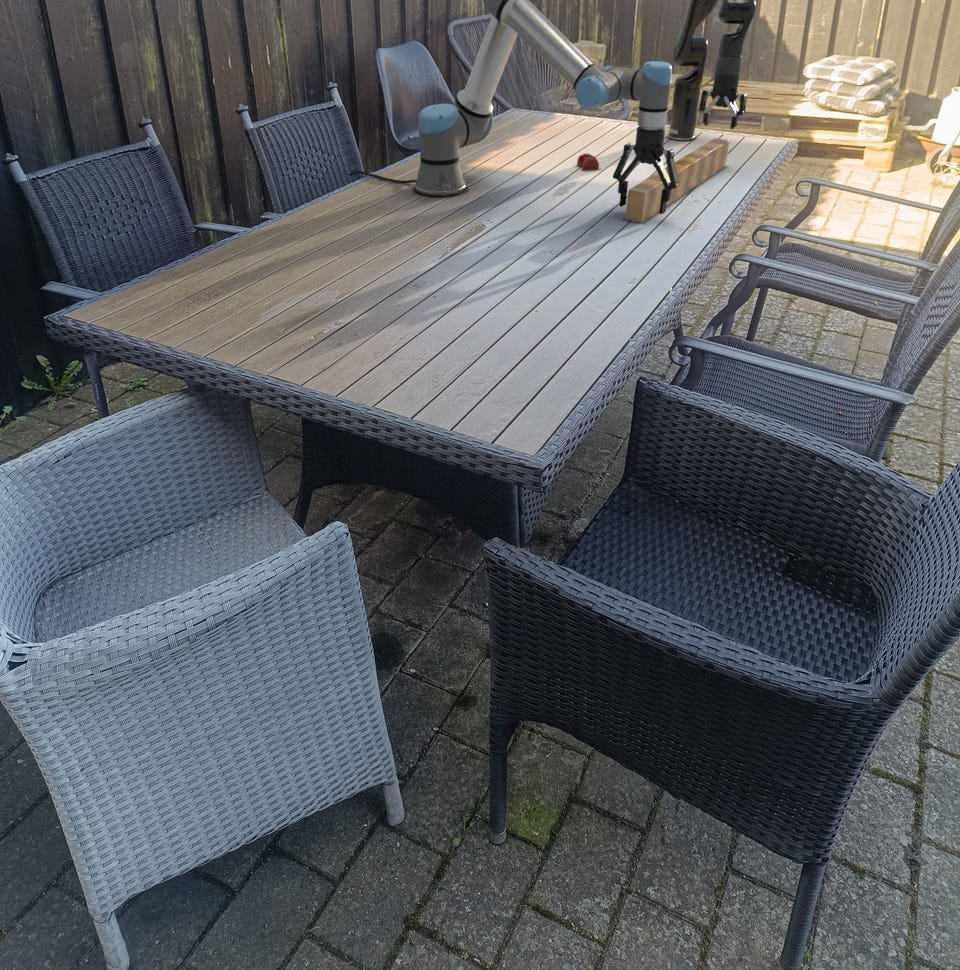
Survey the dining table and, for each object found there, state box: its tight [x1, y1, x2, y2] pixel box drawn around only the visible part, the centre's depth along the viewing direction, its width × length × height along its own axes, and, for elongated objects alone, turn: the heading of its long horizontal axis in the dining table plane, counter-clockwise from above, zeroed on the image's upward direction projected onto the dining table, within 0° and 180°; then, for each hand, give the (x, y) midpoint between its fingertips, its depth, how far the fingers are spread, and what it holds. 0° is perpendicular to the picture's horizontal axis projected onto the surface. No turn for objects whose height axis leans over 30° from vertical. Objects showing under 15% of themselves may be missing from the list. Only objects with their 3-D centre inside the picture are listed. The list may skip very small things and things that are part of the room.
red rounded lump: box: [576, 152, 600, 171], centre depth 277 cm, size 6×4×8 cm
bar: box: [625, 138, 730, 224], centre depth 255 cm, size 68×5×8 cm, turn 147°
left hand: (642, 209), depth 237 cm, fingers open, 11 cm apart
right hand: (719, 127), depth 269 cm, fingers open, 8 cm apart
